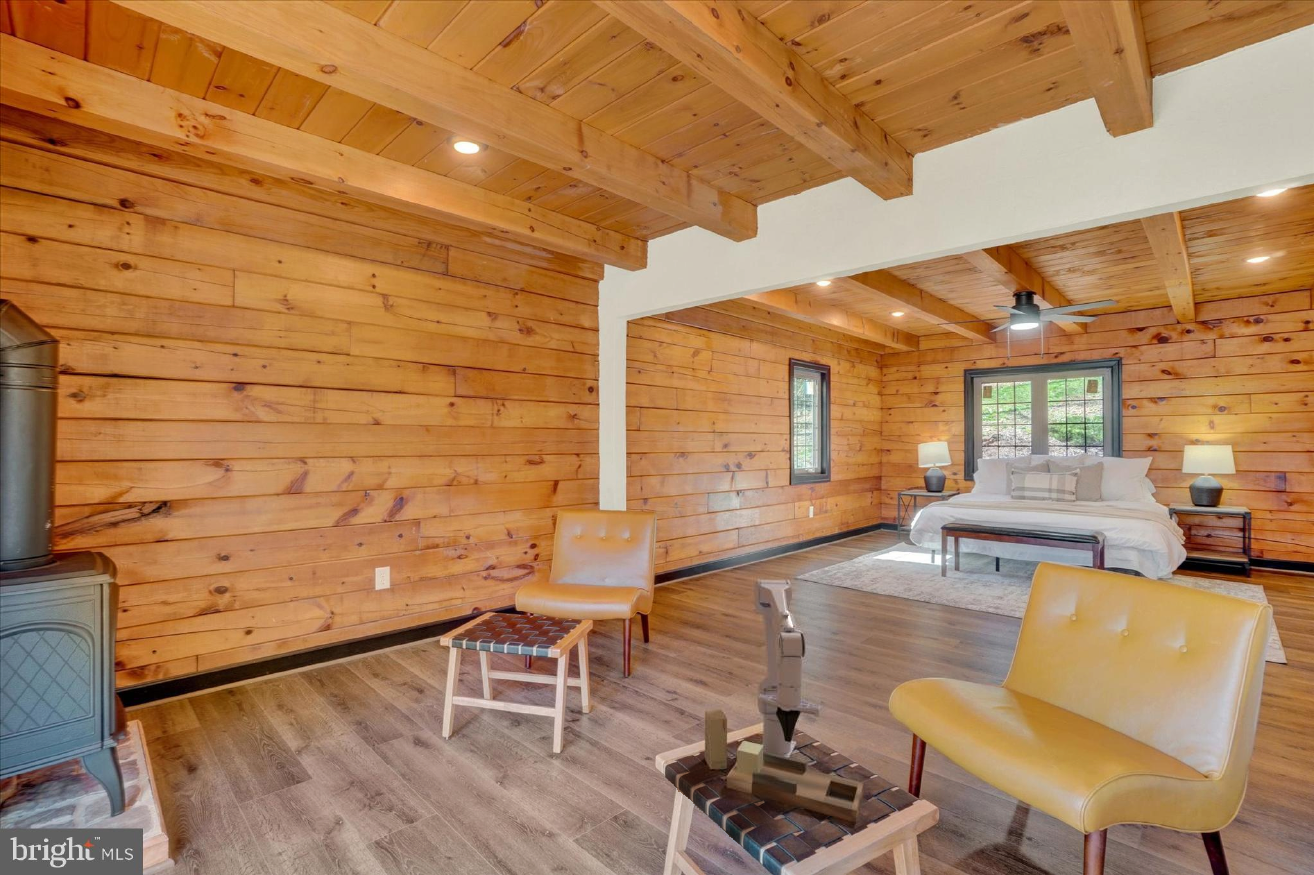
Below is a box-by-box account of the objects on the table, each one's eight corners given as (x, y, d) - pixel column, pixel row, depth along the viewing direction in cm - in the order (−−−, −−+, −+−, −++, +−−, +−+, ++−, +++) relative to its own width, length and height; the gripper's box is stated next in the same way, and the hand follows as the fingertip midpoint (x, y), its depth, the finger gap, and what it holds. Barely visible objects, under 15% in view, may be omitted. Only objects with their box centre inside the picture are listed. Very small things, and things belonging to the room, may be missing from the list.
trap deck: (742, 763, 153) (742, 745, 153) (863, 793, 140) (863, 774, 141) (726, 787, 142) (726, 767, 142) (856, 822, 130) (856, 801, 130)
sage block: (743, 761, 149) (743, 740, 149) (763, 766, 147) (763, 745, 147) (736, 770, 145) (737, 749, 145) (757, 776, 143) (757, 754, 143)
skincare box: (727, 769, 150) (728, 719, 150) (710, 770, 149) (711, 720, 149) (720, 756, 156) (721, 708, 156) (704, 757, 156) (704, 709, 156)
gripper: (755, 683, 146) (754, 740, 146) (816, 694, 140) (816, 754, 139) (763, 673, 152) (762, 728, 152) (822, 684, 146) (821, 741, 146)
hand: (788, 739), depth 146 cm, fingers closed
